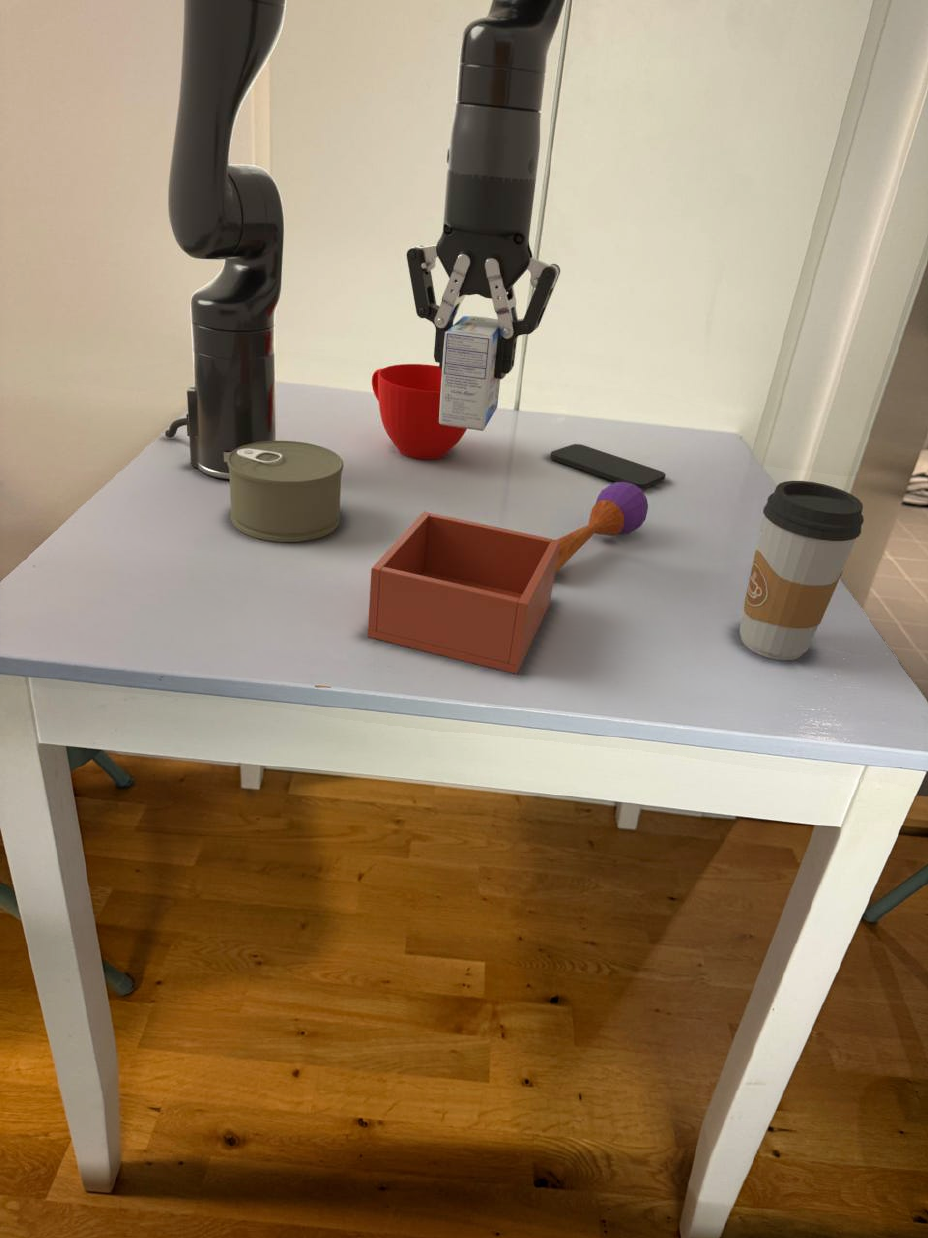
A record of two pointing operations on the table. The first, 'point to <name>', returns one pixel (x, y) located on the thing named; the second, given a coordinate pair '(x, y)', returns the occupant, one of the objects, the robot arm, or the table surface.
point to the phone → (608, 465)
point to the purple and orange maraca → (607, 518)
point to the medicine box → (469, 373)
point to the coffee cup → (797, 566)
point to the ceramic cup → (414, 410)
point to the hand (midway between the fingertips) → (472, 371)
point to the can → (285, 490)
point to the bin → (463, 590)
